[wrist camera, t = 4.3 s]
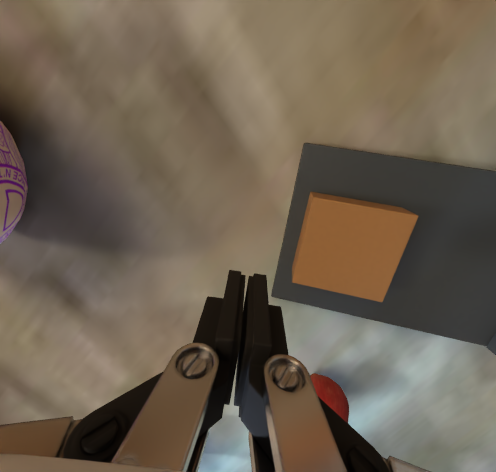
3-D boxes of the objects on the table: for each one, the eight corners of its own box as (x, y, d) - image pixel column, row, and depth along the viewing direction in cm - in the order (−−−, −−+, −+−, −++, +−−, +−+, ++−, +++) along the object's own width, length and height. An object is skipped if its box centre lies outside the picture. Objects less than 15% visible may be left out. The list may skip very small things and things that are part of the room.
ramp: (270, 291, 27) (275, 329, 21) (302, 142, 21) (319, 140, 15) (456, 317, 27) (509, 361, 22) (535, 179, 22) (633, 190, 16)
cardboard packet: (287, 267, 24) (294, 290, 20) (305, 190, 21) (317, 200, 17) (365, 278, 24) (387, 303, 20) (393, 204, 22) (424, 216, 18)
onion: (344, 367, 31) (374, 438, 23) (323, 395, 32) (343, 469, 25) (305, 353, 30) (322, 422, 22) (285, 382, 32) (295, 455, 24)
